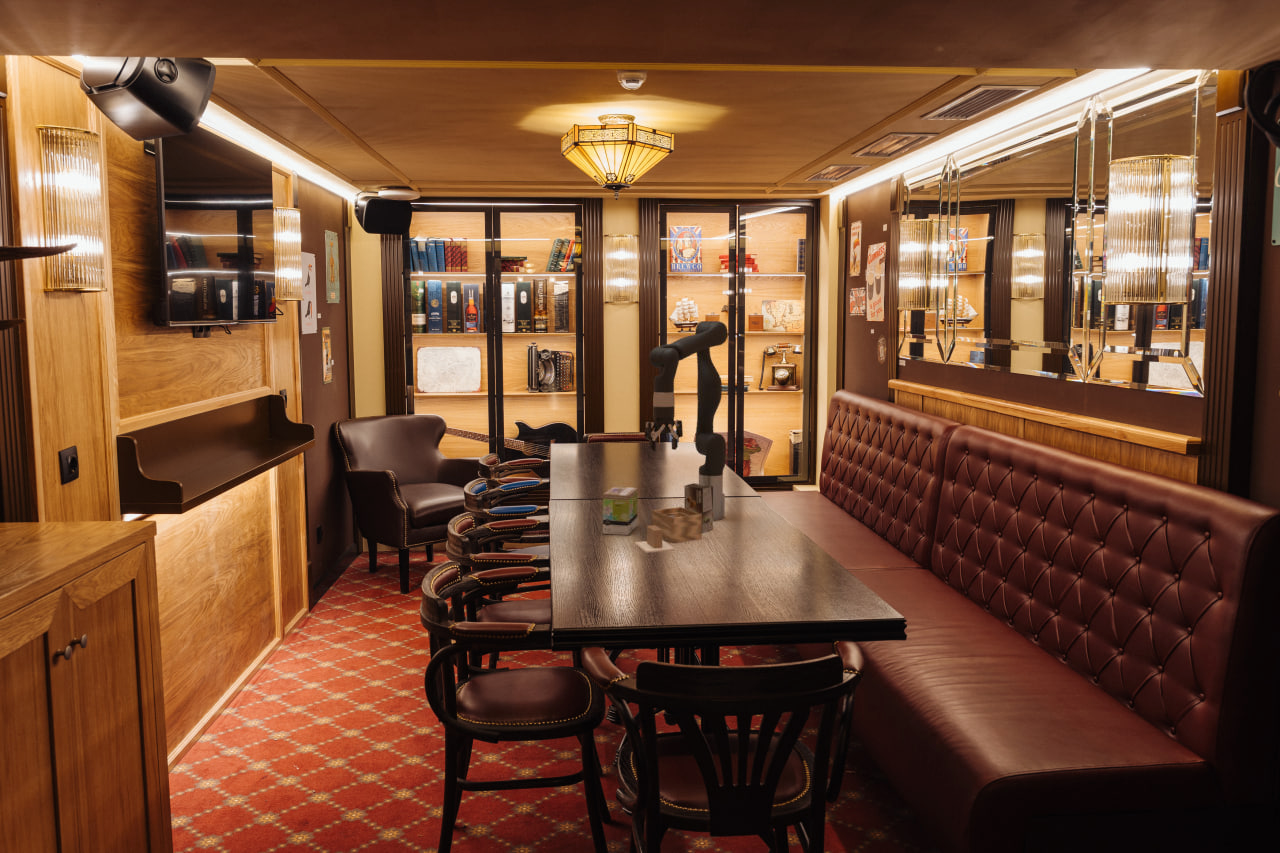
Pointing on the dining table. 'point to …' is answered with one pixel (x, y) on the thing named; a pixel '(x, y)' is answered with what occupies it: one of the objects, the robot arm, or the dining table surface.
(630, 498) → the tea box
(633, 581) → the dining table surface
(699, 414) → the robot arm
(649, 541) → the lid
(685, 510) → the crate
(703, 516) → the coffee box
